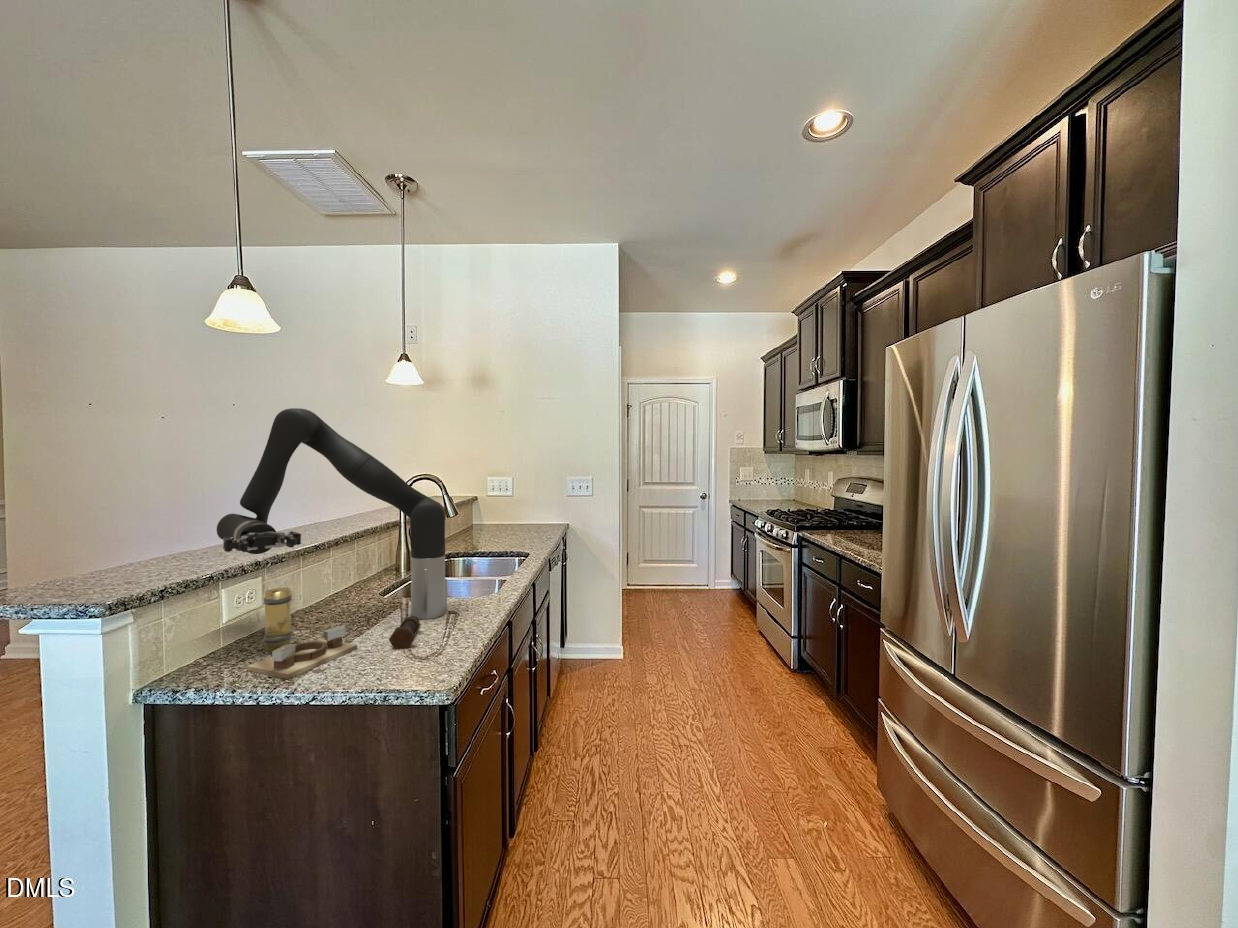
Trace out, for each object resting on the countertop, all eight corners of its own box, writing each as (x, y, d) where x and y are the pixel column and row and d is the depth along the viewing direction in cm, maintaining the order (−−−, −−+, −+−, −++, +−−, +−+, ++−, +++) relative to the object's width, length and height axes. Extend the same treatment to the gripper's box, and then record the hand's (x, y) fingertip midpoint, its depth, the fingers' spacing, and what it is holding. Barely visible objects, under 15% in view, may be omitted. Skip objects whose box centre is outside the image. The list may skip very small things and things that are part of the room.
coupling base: (320, 642, 119) (320, 630, 119) (357, 648, 115) (357, 636, 115) (247, 670, 103) (247, 656, 103) (287, 679, 99) (287, 664, 99)
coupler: (281, 643, 118) (281, 586, 118) (297, 646, 116) (297, 588, 116) (258, 651, 113) (258, 592, 113) (274, 654, 111) (274, 594, 111)
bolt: (416, 634, 130) (404, 654, 115) (398, 626, 129) (385, 645, 114) (427, 615, 131) (417, 632, 116) (410, 607, 130) (398, 623, 115)
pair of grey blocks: (338, 633, 117) (338, 625, 117) (347, 635, 116) (347, 626, 116) (268, 660, 101) (268, 650, 101) (278, 662, 100) (278, 652, 100)
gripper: (217, 523, 113) (229, 531, 102) (289, 518, 123) (306, 525, 112) (217, 555, 113) (228, 566, 102) (289, 548, 123) (306, 557, 112)
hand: (269, 545), depth 107 cm, fingers open, 8 cm apart
